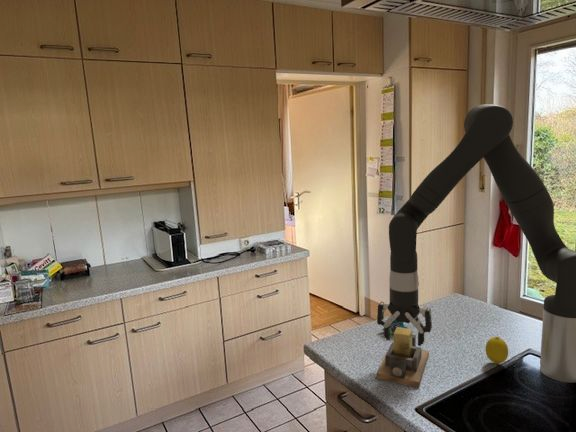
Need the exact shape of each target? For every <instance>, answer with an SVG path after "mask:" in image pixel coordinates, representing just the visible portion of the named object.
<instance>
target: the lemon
mask: <svg viewBox="0 0 576 432" xmlns="http://www.w3.org/2000/svg"><path fill="white" fill-rule="evenodd" d="M485 353H486V354H485V355H486V357H487V358H488V360H490V361H491V362H493V364H495V365H498V364H502V363H504V362H505V361H506V360H507V359H508V357H509V348H508V344H507V342H506V341H505V340H504V339H502V338H500V337H499V336H494V337H491V338H489V339H488V340H487V342H486V344H485Z"/></svg>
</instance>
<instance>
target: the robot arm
mask: <svg viewBox="0 0 576 432" xmlns="http://www.w3.org/2000/svg"><path fill="white" fill-rule="evenodd" d="M463 123H464V124H463V129H464V132H465V134H464V135H463V137H462V138H461V140H460V141H459V143H458V144H457V146H455V148H454V149H453V150H452V151H451V152H450V153H449V154H448V155H447V157H445V159H443V160H442V161H441V162H440V163H439V164H438V165H436V167H435V168H433V169H432V170H431V171H430V172H429V173H428V175H426V176H425V178H424V179H423V180H422V182H421V181H420V183H419V184H418V186H417V187H416V188H415V190H414V191H413V192H412V194H411V196H410V197H409V198H408V200H407V201H406V202H405V203H404V204H403V205H402V206H401V207H400V209H398V211H397V212H396V213H395V214H394V215H393V217H392V219H391V220H390V222H389V224H388V239H389V240H388V241H389V249H390V255H389V256H390V257H389V258H390V259H389V261H390V265H389V268H390V269H389V270H390V271H389V276H388V277H389V280H388V281H389V304H387V303H385V302H384V301H380V302H379V304H378V305H377V317H376V318H377V319H376V324H377V325H378V326H382V327H383V337H384V339H385V341H390V339H391V333H390V328H391V327H390V324H391V323H392V322H393V321H394V320H397V322H404V323H406V324H410V323H411V325H412V326H413V327H414V328H416V330H417V332H418V333H417V347H421V346H422V345H423V344H424V343H425V333H430V332H432V327H433V325H432V310H431V308H430V307H426V308H420V305H419V286H420V282H419V275H418V273H419V272H418V253H417V234H418V233H417V232H418V229H419V228H420V227H421V225H422V224H423V222H424V221H425V220H426V219H427V218H428V217H429V215H430V214H432V213H434V212H435V211H436V210H437V208H438V207H439V206H440V205H441V204H442V203H443V201H445V200H446V198H447V197H448V196H449V194H451V192H452V191H453V190H454V188H455V187H456V186H457V185H458V184H459V183H460V182H461V181H462V179H463V178H464V177H465V176H466V175H467V174H468V173H469V172H470V171H471V170H472V169H473V168H474V167H475V166H476V165H477V164H478V163H479V162H480V161H481V160H482V159H484V161H485V163H486V165H487V166H488V168H489V171H490V173H491V176H492V178H493V181H494V182H495V184H496V187H497V188H498V190H499V192H500V194H501V197H502V199H503V201H504V203H505V204H506V206H507V208H508V209H509V212H510V213H511V214H512V216H513V218H514V219H515V222H516V223H517V225H518V226H519V228H520V230H521V232H522V233H523V236H525V238H526V240H527V241H528V243H529V246H530V249H531V251H532V254H533V256H534V258H535V261H536V263H537V267H539V270H540V271H541V273H542V275H544V277H545V278H546V279H548V280H550V281H552V282H553V283H556V285H555V290H554V291H555V292H554V294H551V295H550V294H549V295H547V296H546V297H545V298H544V300H543V308H542V309H543V311H542V323H541V324H542V325H541V326H542V328H541V341H540V342H541V344H540V359H539V370H540V371H541V373H542V374H543V375H545V376H546V377H548V378H550V379H552V380H554V381H558V382H561V383H571V384H572V383H576V250H573V249H571V248H569V247H568V246H567V245H566V244H565V242H564V241H563V240H562V238H561V236H560V235H559V233H558V231H557V229H556V226H555V221H554V220H555V207H554V206H555V205H554V202H553V198H552V197H551V195H550V192H549V191H548V189H547V186H546V185H545V183H544V182H543V180H542V179H541V177H540V176H539V174H538V173H537V171H536V170H535V169H534V168H533V167H532V166H531V164H530V163H529V162H528V161H527V160H526V158H525V157H524V156H523V155H522V154H521V153H520V151H519V150H518V149H517V147H516V145H515V144H514V142H513V140H512V138H511V136H510V133H511V132H512V129H513V125H514V118H513V115H512V112H511V111H510V110H509V109H507V108H506V107H504V106H502V105H498V104H491V103H490V104H488V103H484V104H479V105H476V106H474V107H472V108H471V109H470V110H468V112H467V114H466V116H465V119H464V122H463ZM386 310H388V312H389V313H390V314H391V315H390V316H389V317H387V319H384V317H385V316H384V314H385V312H386ZM420 314H421V315H422V317H423V318H424V321H425V322H424V324H425V325H424V324H423V323H422V322H421V319H420V318H419V315H420Z"/></svg>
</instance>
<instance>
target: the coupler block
mask: <svg viewBox="0 0 576 432" xmlns="http://www.w3.org/2000/svg"><path fill="white" fill-rule="evenodd" d="M412 335H413V328H406V327H405V328H402V327H401V326H397V327H396V328H395V330H394V331H393V343H394V355H396V356H402V357H407V358H412Z"/></svg>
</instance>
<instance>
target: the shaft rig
mask: <svg viewBox="0 0 576 432" xmlns="http://www.w3.org/2000/svg"><path fill="white" fill-rule="evenodd" d="M416 337H417V336H416V334H412V358H407V357H402V356H396V355H394V342H391V343H390V345H389V347H388V349H387V351H386V353H385V355H384V357H383V359H382V360H381V363H380V365H379V367H378V369H377V371H376V373H375V374H376V375H375V376H376V377H375V378H376V379H378V380H382V381H387V382H393V383H397V384H400V385H406V386H409V387H414V388H420V386H421V383H422V380H423V376H424V373H425V370H426V366H427V364H428V359H429V355H430V351H429V350H424V349H422V347H421V346H417V345H416V344H417V343H416V340H417V339H416Z"/></svg>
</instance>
